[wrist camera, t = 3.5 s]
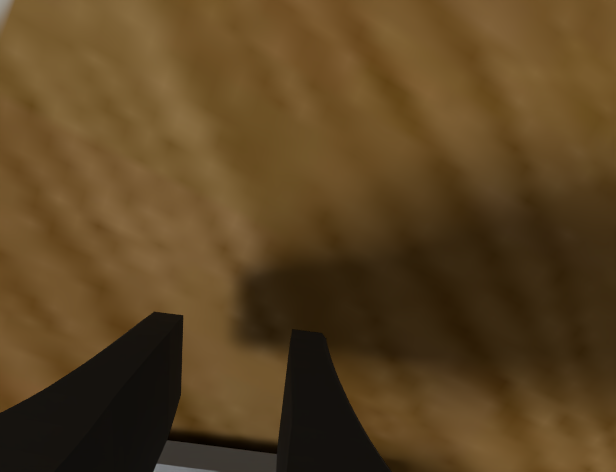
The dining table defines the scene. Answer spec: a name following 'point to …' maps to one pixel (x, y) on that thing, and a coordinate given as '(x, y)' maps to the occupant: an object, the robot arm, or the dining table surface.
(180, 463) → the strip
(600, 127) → the dining table surface
